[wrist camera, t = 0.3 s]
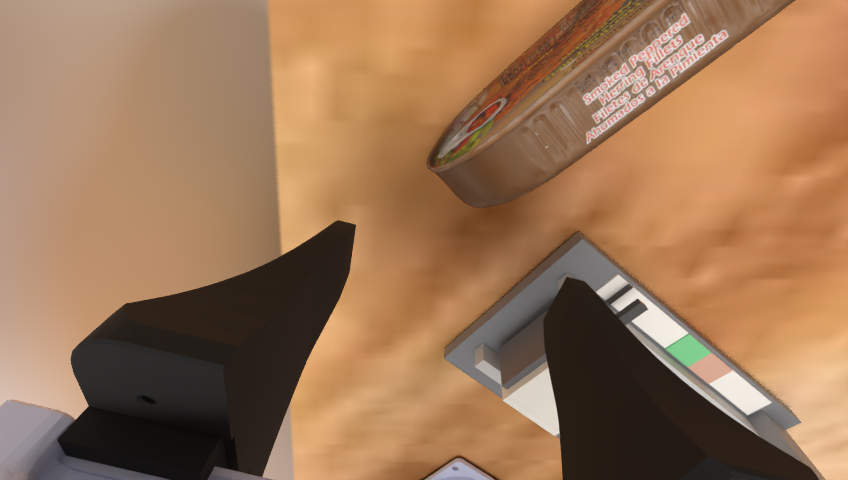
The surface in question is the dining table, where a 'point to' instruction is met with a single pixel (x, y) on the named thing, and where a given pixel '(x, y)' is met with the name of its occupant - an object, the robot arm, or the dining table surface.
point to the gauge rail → (653, 328)
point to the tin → (583, 89)
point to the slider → (538, 371)
